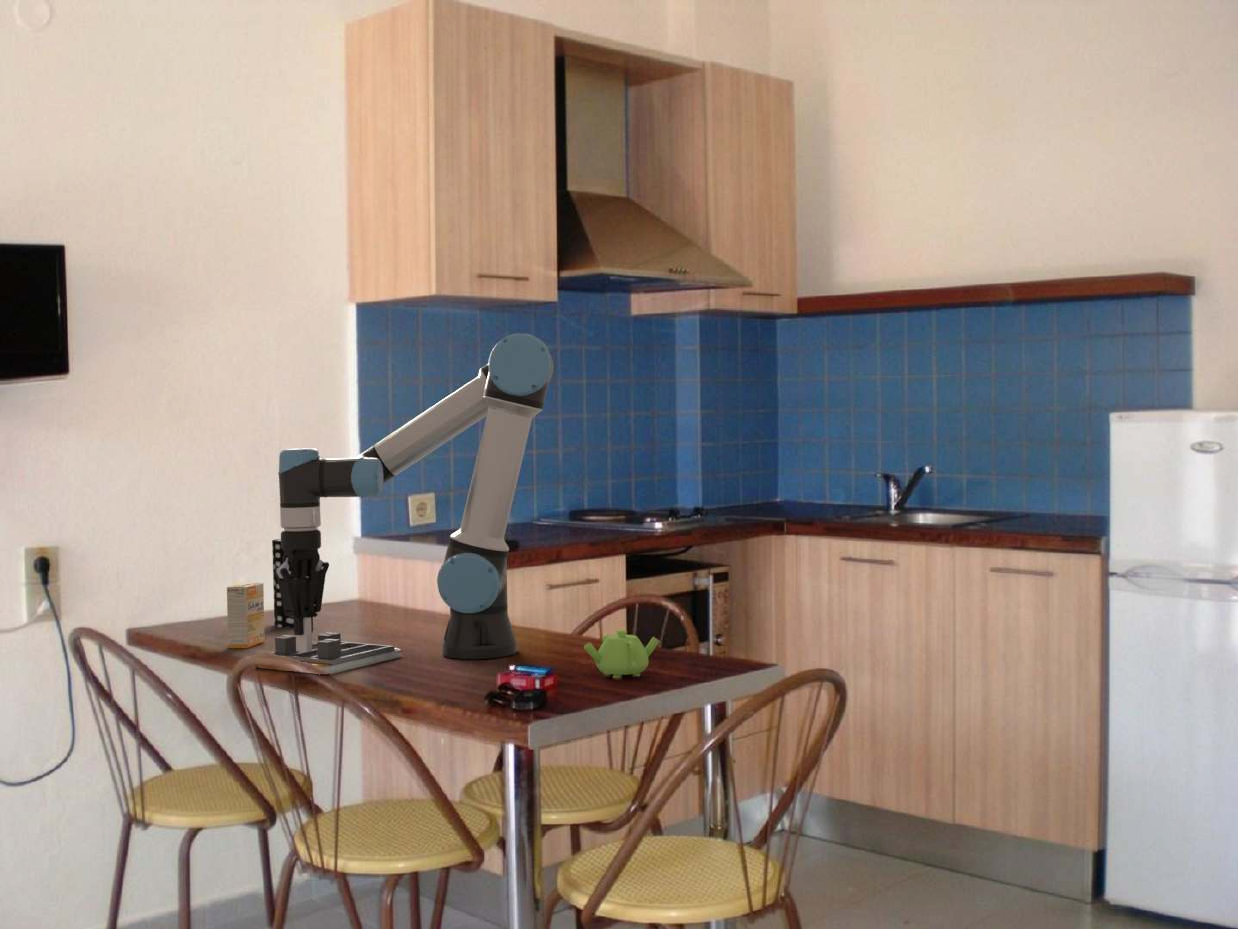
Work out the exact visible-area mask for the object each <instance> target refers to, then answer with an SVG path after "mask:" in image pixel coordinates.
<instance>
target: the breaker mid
mask: <svg viewBox="0 0 1238 929" xmlns="http://www.w3.org/2000/svg"><path fill="white" fill-rule="evenodd" d="M341 637H342V636H341V633H340V632H332V631H331V632H324V633H320V634H317V641H322V640H324V639H339V640H342V638H341Z"/></svg>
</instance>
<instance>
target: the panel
mask: <svg viewBox="0 0 1238 929" xmlns="http://www.w3.org/2000/svg"><path fill="white" fill-rule="evenodd" d="M270 653H271V654H275V655H278V656H286V657H289V658H292V659H295V660H299V661H301V662H307V663H309V664H312V665H313V666H315V667H317V668H319V669H322V670H324V671H325V672H328V673H330V675H333V674H337V673H341V672H342V673H343V672H346V671H350V670H355V669H358V668H362V667H365V666H366V667H368V666H371V665H374V664H378V663H382V662H386V661H390V660H395V659H399V658H402V657H403V656H402V655H403V654H402V649H400V648H398V647H395V645H388V644H387V645H384V644H378V643H377V644H376V643H375V644H374V643H366V642H365V643H364V642H363V643H362V642H355V641H354V642H351V641H341V657H340V658H335V659H331V660H330V659H320V658H318V648H317V642H313V643H312V651H310V652H299V653H296V654H292V655H280V654H276V650H275V651H272V652H270Z"/></svg>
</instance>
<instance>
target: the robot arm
mask: <svg viewBox="0 0 1238 929" xmlns="http://www.w3.org/2000/svg"><path fill="white" fill-rule="evenodd" d="M554 373H555V360H554V356H553V354H552V352H551V350H550V349H549V347H548V345H547V344H546V343H545V342H544V341H543V340H542V339H540V338H539V337H537V336H536V335H532V334H530V333H522V332H517V333H512V334H508V335H506V336H505V337H502V338H501V339H500V340H499V341H498V342H497V343H496V344H495V345H494V346H493V348H492V350H491V351H490V353H489V355H488V361H487V364H486V365H484V366H482V367H481V368H480V369H479V372H478V375H477V376H476V377H475V378H472V380H471V381H469V382H467V383H466V384H463V386H461V387H460V388H458V389H457V390H455V391H454V392H452V393H451V394H449V395H448V396H446V397H445V398H443V399H442V400H440V401H439V402H437V403H436V404H434V405H433V406H431V407H429V408H428V409H426V410H425V411H424V412H422V413H421V414H419V415H417V416H416V417H415V418H413V419H412V420H409V421H408V422H407V423H405V424H404V425H403V426H401V427H399V428H398V429H396V430H395V431H393V432H392V433H390V434H389V435H387V436H386V437H384V438H383V439H381V440H380V441H379V442H376V443H375V444H374V445H372V446H371V447H369V448H368V449H366V450H365V451H363V452H362V453H360V454H358V455H357V456H354V457H341V458H340V457H338V458H335V457H334V458H325V457H324V458H323V457H321V456H320V455H319V454H320V453H319V450H318V449H317V448H286V449H283V450H281V451H280V453H279V456H278V457H279V460H278V463H279V464H278V474H277V475H278V483H279V486H278V487H279V510H280V513H279V514H280V519H279V520H280V528H282V529H283V530H281V532H280V539H281V548H282V549H283V550H284V558H283V564H282V565H281V566H280V567H279V568H274V574H275V576H276V578H277V579H278V584H279V589H280V593H281V598H282V603H283V608H284V612H285V615H286V616H289V617H290V618H293V620H294V627H293V634H294V635H295V636H296V651H298V652H310V651H312V644H313V643H312V642H313V640H312V639H313V636H312V635H313V634H312V633H313V631H314V618H317V616H318V613H319V612H321V610H322V605H323V604H322V603H323V599H324V598H323V597H324V589H325V583H326V582H325V581H326V575H327V572H328V569H329V567H330V563H329V562H328V561H323V560H322V559H321V557H320V554H319V549H321V547H322V532H321V530H320V529H319V527H320V526H322V523H321V522H322V521H321V518H322V517H321V502H320V501H321V498H367V497H368V498H370V497H377V496H379V495H381V494H382V491H383V488H384V485H385V484H386V483H387V482H388V481H390V480H391V479H393V478H394V477H396V476H398V475H399V474H401V473H402V472H404V471H405V470H407V469H408V468H409V467H411V466H412V465H414V464H416V463H417V462H419V461H420V460H421V459H423V458H424V457H427V455H430V454H431V453H433V452H434V451H435V450H436V449H437V450H438V448H440V447H441V446H443V445H445V444H446V443H447V442H449V441H450V440H452V439H453V438H455V437H456V436H458V435H459V434H461V433H463V432H464V431H466V430H467V429H469V428H470V427H472V426H473V425H475V424H476V423H478V422H480V421H481V420H483V419H484V418H485V421H484V426H483V430H482V434H481V439H480V443H479V448H478V451H477V456H476V460H475V464H474V467H473V473H472V475H471V476H472V477H471V481H470V484H469V490H468V492H467V493H468V494H467V498H466V501H465V502H466V503H465V506H464V511H463V515H462V518H461V519H462V520H461V523H460V528H459V529H458V530H456V531H455V532H453V533H451V534H450V536H449V539H448V543H447V548H446V551H445V552H446V553H445V556H444V561H443V563H442V565H441V567H440V568H439V571H438V574H437V578H436V583H437V591H438V594H439V596H440V597H441V599H442V601H443V602H444V604H446V606H448V607H449V619H448V622H447V626H446V630H445V633H444V635H443V636H444V637H443V640H442V642H441V655H442V656H443V657H446V658H450V659H456V660H457V659H460V660H461V659H462V660H483V659H485V660H486V659H488V660H489V659H496V658H503V657H504V658H505V657H508V656H513V655H516V654H517V653H516V652H518V641H517V638H516V636H515V632H514V629H513V625H512V622H511V621H510V620H511V619H510V616H509V612H508V608H509V606H508V577H507V576H508V571H507V570H508V566H507V563H508V562H507V560H508V557H509V551H510V547H509V546H508V543H506V541H505V535H506V530H507V525H508V521H509V516H510V513H511V510H512V505H513V501H514V497H515V494H516V493H515V492H516V488H517V484H518V480H519V476H520V471H521V467H522V462H523V459H524V454H525V449H526V447H527V443H528V442H527V441H528V438H529V433H530V430H531V425H532V420H533V418H534V417H535V416H537V415H539V413H541V412H542V411H543V408H544V405H545V400H546V396H547V393H548V389H549V388H548V387H549V384H550V382H551V380H552V379H553V375H554Z"/></svg>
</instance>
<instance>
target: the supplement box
mask: <svg viewBox="0 0 1238 929" xmlns="http://www.w3.org/2000/svg"><path fill="white" fill-rule="evenodd" d="M264 587H265V586H264V582H244V583H240V584H236V585H230V586H227V587H226V606H227V608H226V610H227V648H229V649H248V648H251V647H255V646H257V645H259V644H263V643H265V606H264V604H265V602H264V601H265V599H264V598H265V596H264V594H265V592H264V591H265V590H264Z"/></svg>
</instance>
